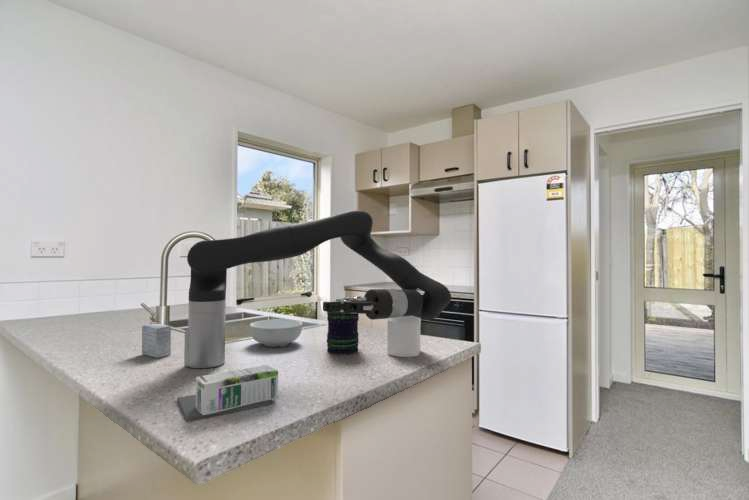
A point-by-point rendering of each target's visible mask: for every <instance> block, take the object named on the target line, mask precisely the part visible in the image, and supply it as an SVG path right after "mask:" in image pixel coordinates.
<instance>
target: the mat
mask: <svg viewBox="0 0 749 500" xmlns="http://www.w3.org/2000/svg"><path fill="white" fill-rule="evenodd" d="M177 403H178V404H179V407H180V409H181V412H182V414H183V416H184V419H185V421H186V422H190V421H195V420H201V419H205V418H211V417H216V416H219V415H225V414H231V413H235V412H239V411H244V410H249V409H254V408H259V407H263V406H269V405H271V400H268V401H263V402H258V403H254V404H250V405H245V406H241V407H237V408H233V409H229V410H225V411H221V412H217V413H212V414H208V415H202V414H201V413H200V412H199V411H198V410H197V408H196V406H195V403H196V393H194V394H191V395H185V396H179V397H177Z"/></svg>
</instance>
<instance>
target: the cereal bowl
mask: <svg viewBox="0 0 749 500" xmlns="http://www.w3.org/2000/svg"><path fill="white" fill-rule="evenodd" d="M302 330H303V323H302V321H300V320H296V319H291V318H289V319H285V318H278V319H276V318H275V319H263V320H258V321H255V322H251V323H250V324H249V332H250V336H251V338H252V339H253V340H254V341H255V342H257V343H260V344H261V345H262V344H263V345H264V346H265V345H267V346H266V347H268V346H280V347H283V346H282V345H285V346H288V345H289V343H292V342H294V341H296V340H297V339H298V338H300V336H301V334H302V332H303V331H302ZM287 344H288V345H287Z"/></svg>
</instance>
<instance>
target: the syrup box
mask: <svg viewBox="0 0 749 500" xmlns="http://www.w3.org/2000/svg"><path fill="white" fill-rule="evenodd" d="M278 385H279V370H278V369H276V368H274V367H271V366H270V365H267V364H264V365H258V366H253V367H248V368H246V367H245V368H242V369H235V370H229V371H223V372H218V373H212V374H206V375H205V374H204V375H200V376H196V377H195V394H196V403H195V406H196V408H197V410H198V411H199V412H200V413H201V414H202V415H208V414H212V413H217V412H221V411H225V410H229V409H233V408H237V407H241V406H245V405H250V404H254V403H258V402H263V401H268V400H270V401H272V400H276V399H278V398H279V393H278V392H279V389H278V388H279V386H278Z"/></svg>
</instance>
